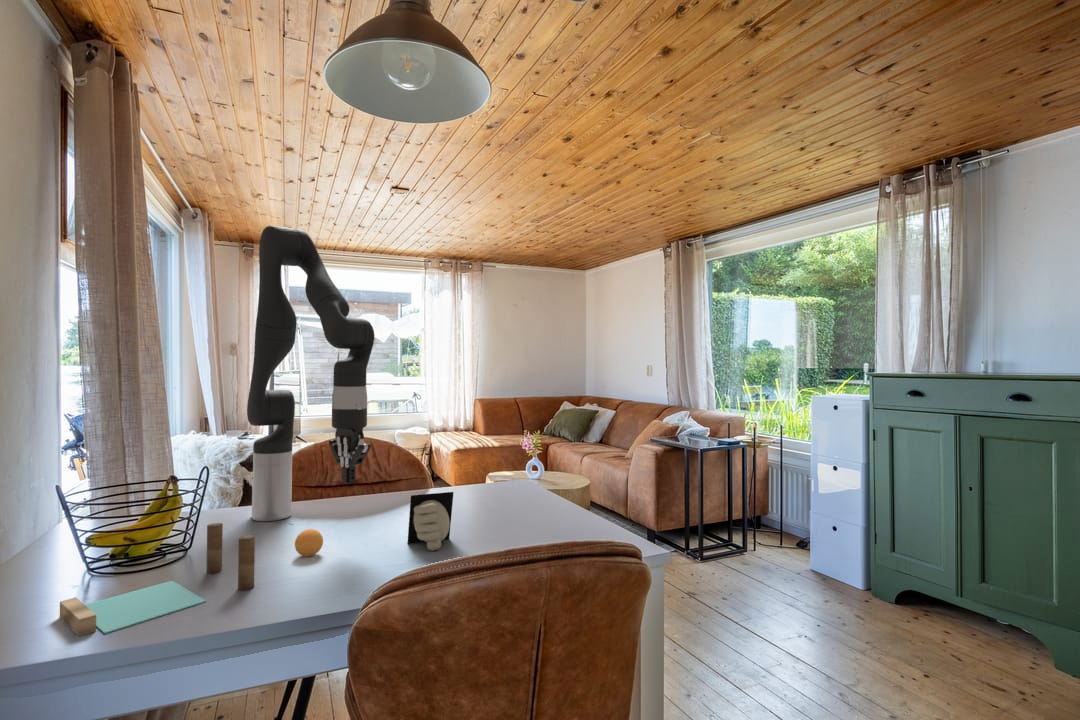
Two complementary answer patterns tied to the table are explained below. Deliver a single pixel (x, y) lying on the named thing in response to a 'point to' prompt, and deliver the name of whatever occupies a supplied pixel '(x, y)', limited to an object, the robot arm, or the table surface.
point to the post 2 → (246, 562)
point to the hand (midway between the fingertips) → (348, 483)
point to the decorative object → (430, 519)
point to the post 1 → (214, 548)
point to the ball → (308, 542)
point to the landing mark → (141, 605)
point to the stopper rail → (78, 616)
